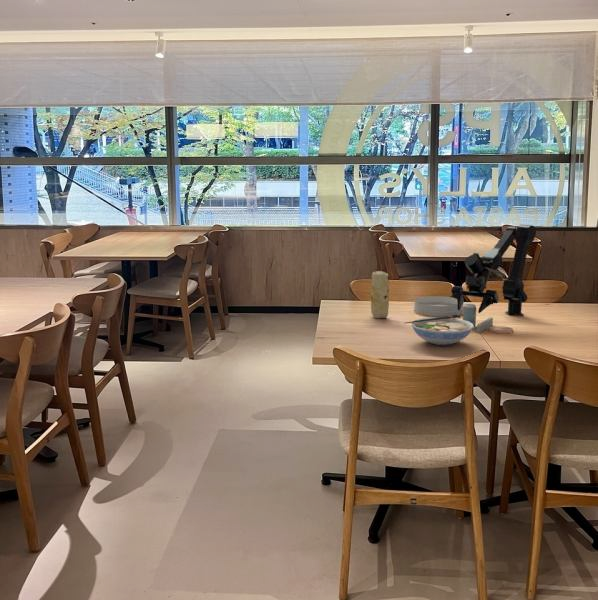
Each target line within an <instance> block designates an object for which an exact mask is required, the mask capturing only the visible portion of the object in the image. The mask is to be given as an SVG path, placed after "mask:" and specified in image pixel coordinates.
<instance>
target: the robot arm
mask: <svg viewBox="0 0 598 600" xmlns="http://www.w3.org/2000/svg"><path fill="white" fill-rule="evenodd" d="M536 235H537V229H536V227H535V226H534V225H529V224H518V225H517V226H507V227H506V229H505V232H503V235H502V236H501V237H500V238H499V240H498V241H497V243H496V244H495V245H494V247H493V248H492V249H491V250H489V251H486V252H485V253H484V254H483V255H482V257H481V256H480V254H479V253H476V252H474V253H473V254H470V255H469V256H467V257H466V258H465V260H464V264H465V266H466V268H467V269H468V270H469V271H470V273H472V274H473V275H474V276H469V275H468V276H466V278H465V282H464V284H465V285H466V286H467V287H466V289H464V288H463V286H456V285H454V286H452V287H451V290H450V291H451V294H452V296H453V298H455V299H457V302H458V311H459V310H460V309H461V306H462V304H463V302H464V301H465V299H464V298H465V296H467V297H474V298H482V301H481V302H480V305H479V307H478V310H477V312H478V314H481V313H482V312H483V311H484V310H485V309H486V308H488V307H489V306H491V305H494V304H498V303H499V300H500V298H499V294H498V292H497V290H495V289H487V283H488V280H489V279H492V278H493V275H492V273H491V272H492V270H493V271H494V270H495V271H496V270H498V269H499V268H500V266H501V264H502V262H503V257H504V255H505V253H506V252H507V250H508V249H509V247H510V246H511V245H512V244H513V242H514V241H515V243H516V247H515V251H514V255H513V260H512V264H511V265H512V266H511V270H510V275H509V277H508V278H507V279H504V280H503V285H502V287H501V289H502V295H503V300H504V301H505V300H507V311H504V312H505V313H506V314H507V315H508V316H525V314H524V313H523V312H522V310H523V308H522V307H523V303H525V302H527V300H528V295H527V294H526V292H525V290H524V287H525V285H524V282H523V279H522V278H523V274H524V270H525V265H526V260H527V254H528V250H529V246H530V245H531V244H532V243H533V242H534V241H535V238H536ZM490 270H491V271H490ZM467 289H468V290H467ZM484 291H485V292H484ZM463 305H464V304H463Z"/></svg>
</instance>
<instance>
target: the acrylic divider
mask: <svg viewBox="0 0 598 600" xmlns="http://www.w3.org/2000/svg"><path fill="white" fill-rule="evenodd" d="M493 321H494V317H488V318H486V319H485V320H482V322H480V323H478V324H477V325H476V333H477V334H480V333H482V332H484V331H485V330H487V329H489V328H490V327H493V323H494V322H493Z"/></svg>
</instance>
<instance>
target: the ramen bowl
mask: <svg viewBox="0 0 598 600" xmlns="http://www.w3.org/2000/svg"><path fill="white" fill-rule="evenodd" d="M461 317H462V316H461V315H457V314H456V315H450V316H430V317H421V318H417V319H413V320H411V321H407V322H404V324H411V327H412V329H413V331H414V332H415V334H416V335H417V336H418V338H419V337H420V338H421V340H424V341H426V342H428V343H431V344H432V345H434V344H435V346H440V345H443V347H444V346H445V345H446V346H450V345H452V344H456V343H459V342H461V341H462V340H464V339H466V338H467V337H468V335H470V333H471V332H472V331H473V329H474V328H473V327H474V326H473V324H472V323H470V322H468V321H465V320H463V319H460V318H461Z"/></svg>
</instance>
